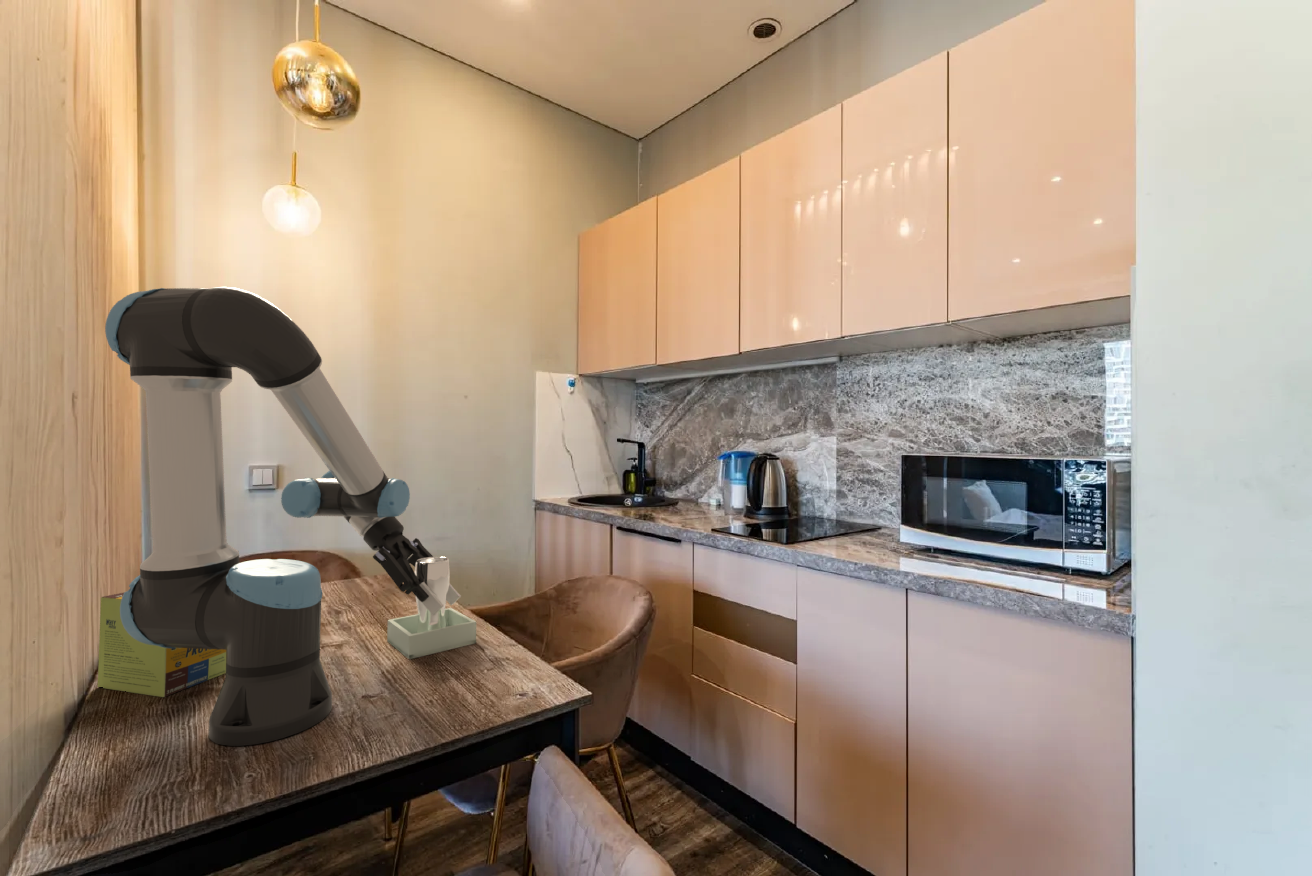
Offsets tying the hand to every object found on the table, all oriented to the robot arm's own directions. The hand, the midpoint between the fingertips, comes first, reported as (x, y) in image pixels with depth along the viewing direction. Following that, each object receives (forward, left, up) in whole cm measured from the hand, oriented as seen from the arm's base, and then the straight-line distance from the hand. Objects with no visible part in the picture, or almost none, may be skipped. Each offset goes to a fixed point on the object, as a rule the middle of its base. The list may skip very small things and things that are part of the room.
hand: (447, 605), depth 115 cm
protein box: (+15, +44, -8) cm, 47 cm away
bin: (+3, +2, -8) cm, 9 cm away
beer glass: (+3, +2, -6) cm, 7 cm away
